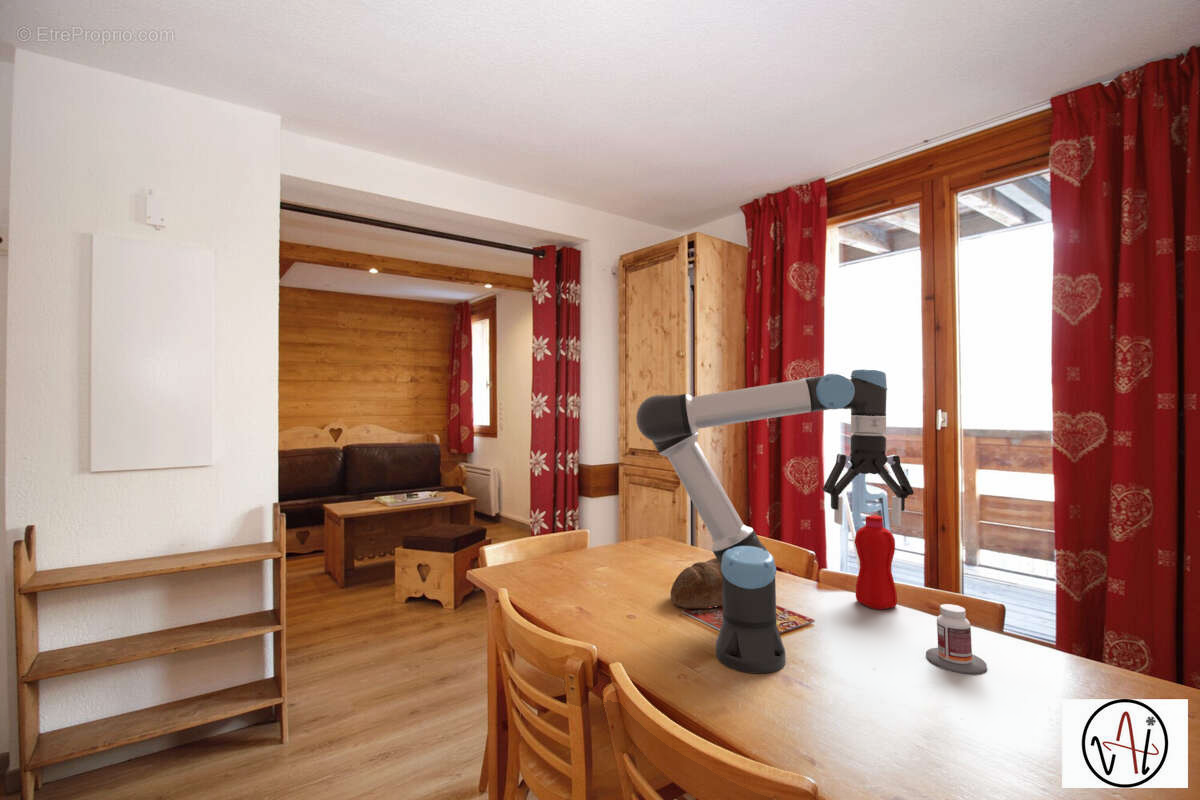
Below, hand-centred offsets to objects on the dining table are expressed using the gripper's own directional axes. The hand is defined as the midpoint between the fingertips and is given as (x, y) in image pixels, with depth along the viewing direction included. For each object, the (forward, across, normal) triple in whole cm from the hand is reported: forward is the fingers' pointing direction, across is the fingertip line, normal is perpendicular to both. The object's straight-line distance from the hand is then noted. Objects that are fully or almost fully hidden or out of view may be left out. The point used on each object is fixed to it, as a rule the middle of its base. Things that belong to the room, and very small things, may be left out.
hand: (867, 524), depth 125 cm
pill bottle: (+27, +15, -9) cm, 32 cm away
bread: (+30, -30, +31) cm, 52 cm away
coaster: (+28, +15, -9) cm, 33 cm away
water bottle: (+28, +14, +26) cm, 41 cm away
